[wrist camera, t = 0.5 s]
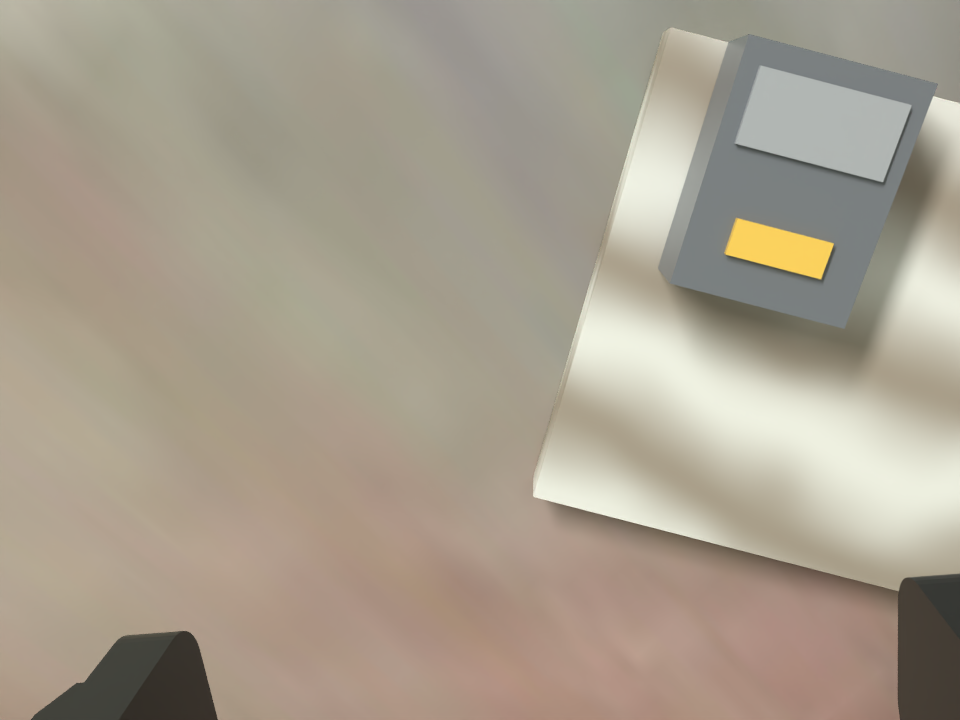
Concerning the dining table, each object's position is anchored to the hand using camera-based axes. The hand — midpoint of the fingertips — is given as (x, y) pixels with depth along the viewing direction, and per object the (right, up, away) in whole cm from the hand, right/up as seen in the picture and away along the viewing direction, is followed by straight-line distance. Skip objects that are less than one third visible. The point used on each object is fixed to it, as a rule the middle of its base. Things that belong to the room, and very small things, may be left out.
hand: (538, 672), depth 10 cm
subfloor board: (+15, +4, +24) cm, 29 cm away
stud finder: (+10, +10, +21) cm, 25 cm away
